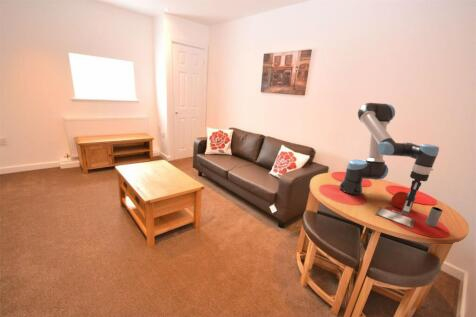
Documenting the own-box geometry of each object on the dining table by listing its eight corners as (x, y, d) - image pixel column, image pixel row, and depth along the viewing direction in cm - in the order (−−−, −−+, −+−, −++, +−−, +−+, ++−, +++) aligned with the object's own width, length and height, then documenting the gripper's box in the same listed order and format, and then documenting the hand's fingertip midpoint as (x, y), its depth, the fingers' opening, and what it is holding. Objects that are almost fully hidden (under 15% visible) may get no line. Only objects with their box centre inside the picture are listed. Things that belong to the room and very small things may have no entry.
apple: (399, 202, 143) (403, 188, 140) (413, 210, 133) (419, 196, 130) (386, 202, 141) (391, 188, 138) (399, 211, 131) (405, 196, 128)
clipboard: (375, 214, 125) (375, 212, 125) (379, 207, 134) (380, 205, 134) (412, 228, 113) (413, 227, 113) (414, 219, 123) (415, 218, 122)
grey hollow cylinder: (423, 222, 121) (429, 206, 118) (430, 222, 121) (436, 206, 118) (430, 226, 117) (437, 211, 114) (438, 227, 117) (445, 211, 114)
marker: (400, 213, 122) (408, 192, 118) (401, 210, 125) (409, 190, 120) (408, 215, 120) (416, 194, 116) (409, 213, 122) (417, 193, 118)
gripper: (428, 178, 106) (413, 217, 113) (430, 171, 118) (415, 207, 125) (410, 173, 111) (396, 211, 118) (413, 167, 122) (400, 202, 130)
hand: (406, 209), depth 121 cm, fingers closed on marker, 4 cm apart
